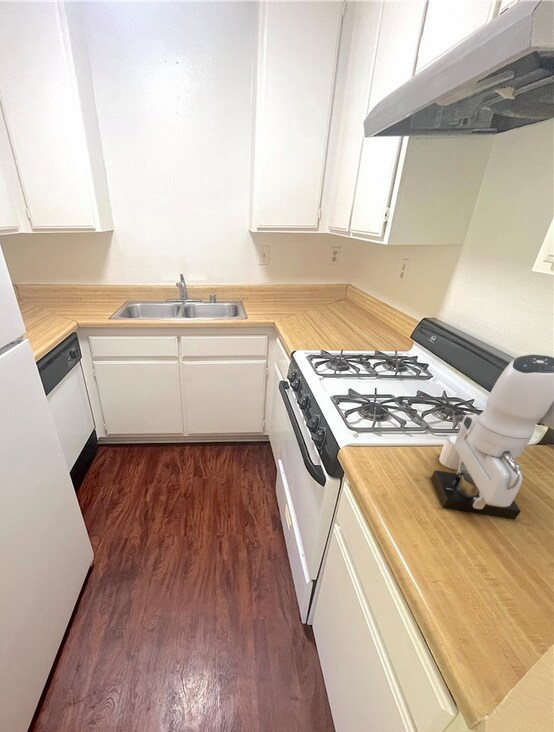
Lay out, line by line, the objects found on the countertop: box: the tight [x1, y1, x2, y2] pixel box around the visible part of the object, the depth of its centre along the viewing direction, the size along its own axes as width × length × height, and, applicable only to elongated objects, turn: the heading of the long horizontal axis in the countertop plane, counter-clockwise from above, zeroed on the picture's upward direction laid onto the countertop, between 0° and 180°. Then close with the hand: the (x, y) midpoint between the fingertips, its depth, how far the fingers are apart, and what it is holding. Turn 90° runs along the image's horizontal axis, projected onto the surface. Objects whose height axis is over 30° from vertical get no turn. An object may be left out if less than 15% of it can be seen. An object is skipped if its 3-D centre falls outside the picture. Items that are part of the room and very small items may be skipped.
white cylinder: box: [438, 433, 460, 471], centre depth 86 cm, size 7×7×7 cm
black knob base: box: [430, 469, 522, 521], centre depth 76 cm, size 14×11×3 cm
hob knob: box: [456, 473, 480, 499], centre depth 74 cm, size 4×4×4 cm
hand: (468, 491), depth 75 cm, fingers open, 8 cm apart
